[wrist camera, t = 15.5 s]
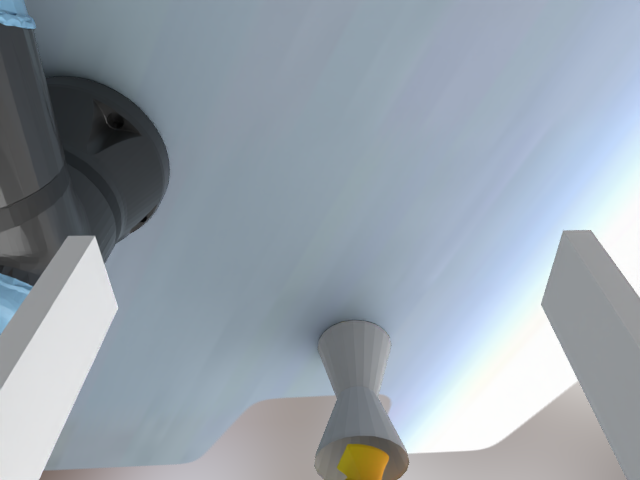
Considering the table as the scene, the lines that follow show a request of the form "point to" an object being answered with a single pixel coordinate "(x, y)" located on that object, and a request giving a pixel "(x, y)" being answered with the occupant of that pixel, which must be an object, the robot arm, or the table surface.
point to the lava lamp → (358, 407)
